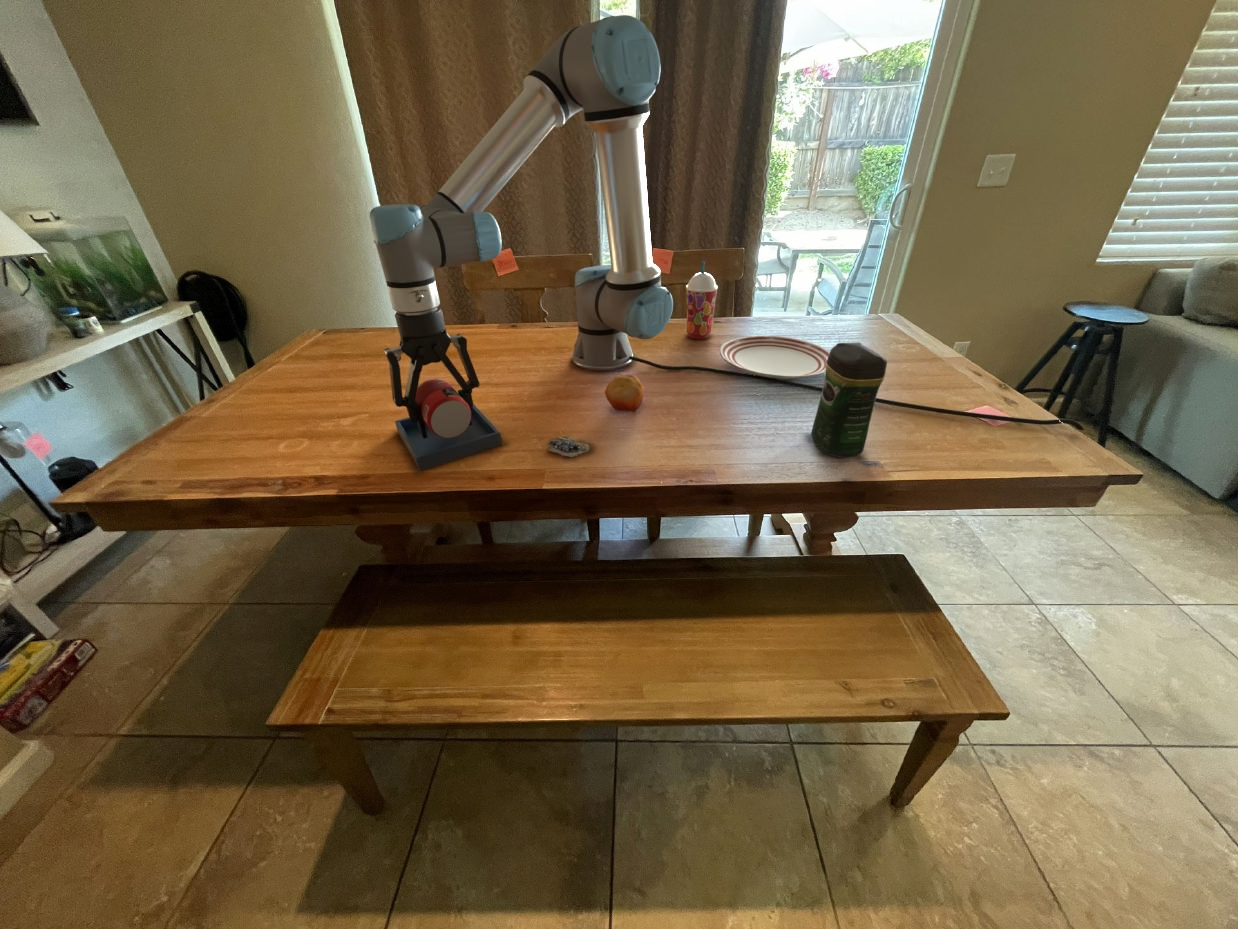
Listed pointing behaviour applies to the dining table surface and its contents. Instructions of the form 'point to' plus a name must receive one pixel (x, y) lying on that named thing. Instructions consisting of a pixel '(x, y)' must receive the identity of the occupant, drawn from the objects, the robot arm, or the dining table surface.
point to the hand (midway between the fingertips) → (446, 428)
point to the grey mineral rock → (567, 447)
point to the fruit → (625, 393)
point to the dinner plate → (775, 356)
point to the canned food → (443, 408)
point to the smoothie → (700, 304)
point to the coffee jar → (847, 399)
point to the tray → (448, 441)
